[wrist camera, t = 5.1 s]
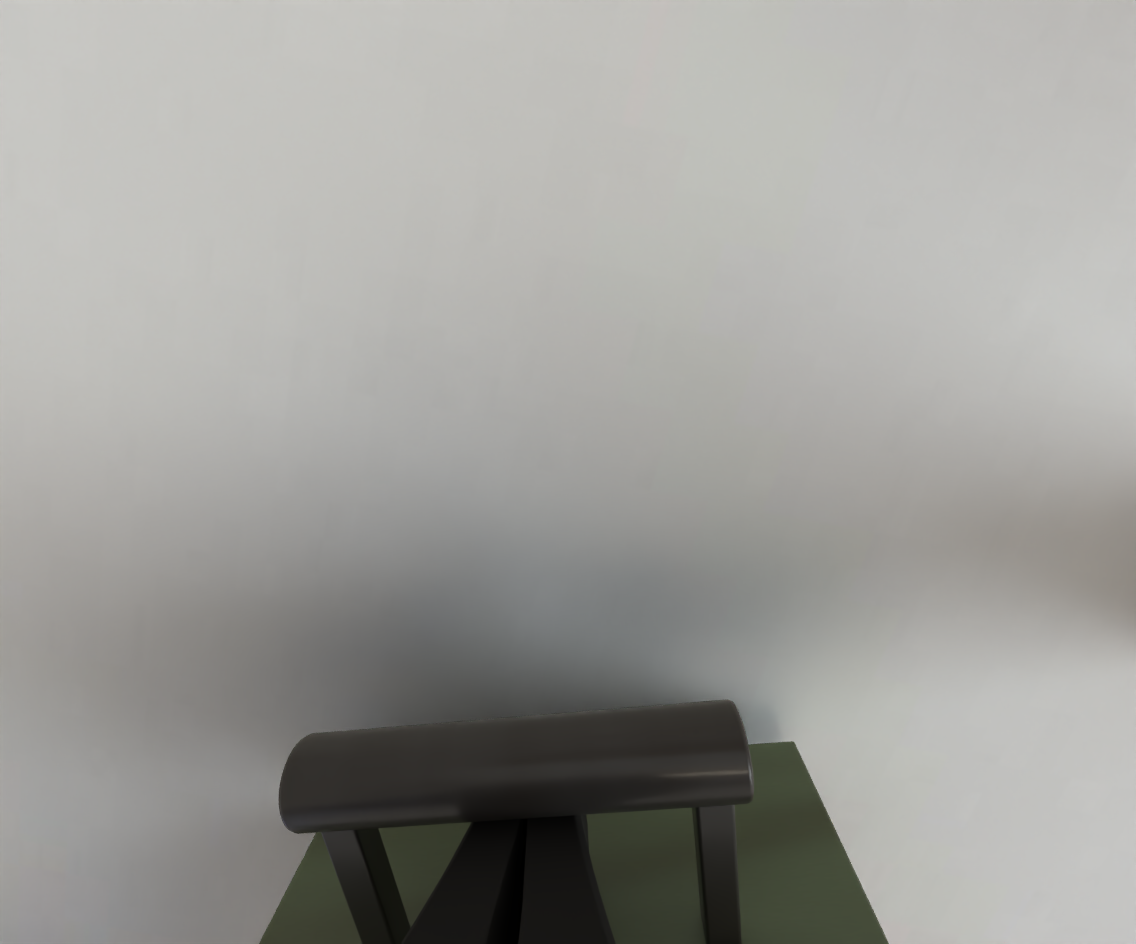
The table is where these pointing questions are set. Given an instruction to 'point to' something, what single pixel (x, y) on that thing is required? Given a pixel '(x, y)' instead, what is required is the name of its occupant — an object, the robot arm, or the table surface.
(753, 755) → the drawer
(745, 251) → the table surface
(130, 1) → the table surface
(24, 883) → the table surface
